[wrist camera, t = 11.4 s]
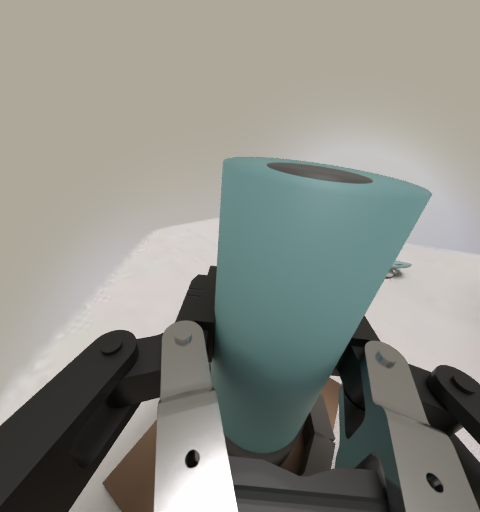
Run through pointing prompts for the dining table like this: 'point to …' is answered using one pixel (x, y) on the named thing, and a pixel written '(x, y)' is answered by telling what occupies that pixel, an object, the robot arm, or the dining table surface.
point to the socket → (298, 462)
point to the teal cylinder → (295, 287)
